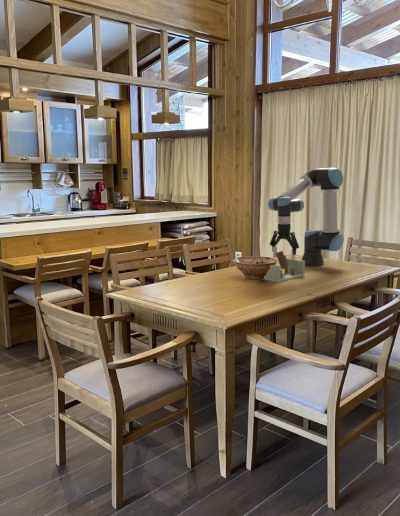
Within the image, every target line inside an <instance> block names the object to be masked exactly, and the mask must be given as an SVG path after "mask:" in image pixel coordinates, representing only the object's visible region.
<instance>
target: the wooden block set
mask: <svg viewBox="0 0 400 516" xmlns="http://www.w3.org/2000/svg"><path fill="white" fill-rule="evenodd" d="M276 255H277V257H276V259H277V261H278V263H279V264H278V265H279V266H281V270H285V268H287V267H288V261H287V258H288V257H287V256H286V254H284V251H283V250H281V251H279V252H278V251H277V253H276Z"/></svg>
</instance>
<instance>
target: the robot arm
mask: <svg viewBox="0 0 400 516" xmlns="http://www.w3.org/2000/svg"><path fill="white" fill-rule="evenodd" d="M343 182H344V176H343V173H342V171H341V170H340V169H339V168H337V167H318V168H314V169H311V170H309V171H307V172H306V173H304V174H303V175H302V176H301V177H300V178H299V180H298V181H297V182H295V183H294V184H293V185H292V186H290V187H289V188H288V189H287V190H285V191H284V192H282V194H280V195H279V196H278V197H276V198H275V197H274V198H270V199H269V200H268V201H267V202H268V203H267V204H268V205H267V206H268V209H269V210H270V211H273V212H277V230H273V235H272V237H271V240H270V242H269V246H271V247H272V250H271V251H272V258H273V259H274V258H277V255H276V253H278V246H277V245H278V244H279V242H280V241H281V240H286V241H287V242H288V244H289V246H290V247H291V250H290V251H291V255H290V257H291V258H290V259H291V260H296V255H297V249H299V248H300V246H299V243H298V239H297V238H296V232H294V231H292V232H291V229H292V227H291V222H292V219H291V213H298V212H302V211H303V209H304V208H305V203H304V201H303V200H302V199H301V198H298V197H299V196H300V195H302V194H303V193H304V192H305V191H307V190H310V189H311V188H313V187H320V190H321V192H323V193H322V195H323V196H322V197H323V198H322V199H323V201H322V203H323V204H322V206H323V212H322V213H323V228H322V229H313V230H306V231H305V232H304V237H303V238H304V239H303V241H304V245H303V246H304V247H303V254H302V257H301V260H302V261H305V266H323V265H324V264H325V260H324V256H323V254H322V251H329V252H338V251H340V250H341V248H342V246H343V244H344V241H345V240H344V239H345V238H344V235H343V234H342V233H340V232H341V231H340V229H339V228H338V191H339V190H340V187H341V186H342V184H343Z"/></svg>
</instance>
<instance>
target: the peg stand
mask: <svg viewBox="0 0 400 516" xmlns="http://www.w3.org/2000/svg"><path fill="white" fill-rule="evenodd" d="M286 258H287V261H288V267H287V268H285V269H283V270H284V271H283V270H282V269H281V266H280V265H276V264H275V265H270V269H269V270H268V272H267V273H266V275H265V276H264V279H265V281H270V282H274V283H275V282H276V283H281V282H285V281H290V280H293V279H297V278H301V276H302V277H304V276H306V275H305V274H306V273H305V270H306V267H305V266H306V265H305V261H302V259H295V260H291V258H288V257H286ZM264 279H263V280H264Z"/></svg>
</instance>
